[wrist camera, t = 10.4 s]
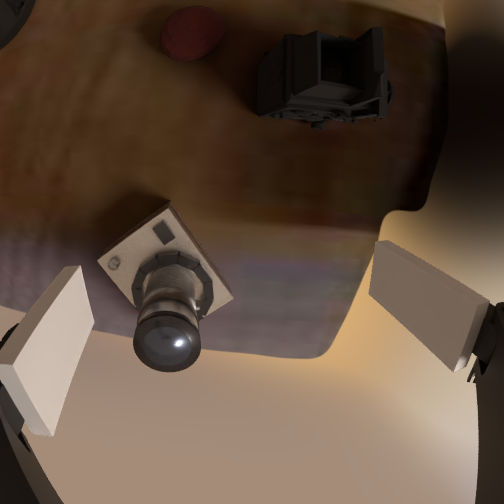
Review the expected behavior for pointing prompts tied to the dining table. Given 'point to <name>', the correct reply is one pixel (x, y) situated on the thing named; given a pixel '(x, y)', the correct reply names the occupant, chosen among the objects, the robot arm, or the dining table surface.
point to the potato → (191, 33)
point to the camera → (325, 78)
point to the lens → (168, 322)
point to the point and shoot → (164, 260)
